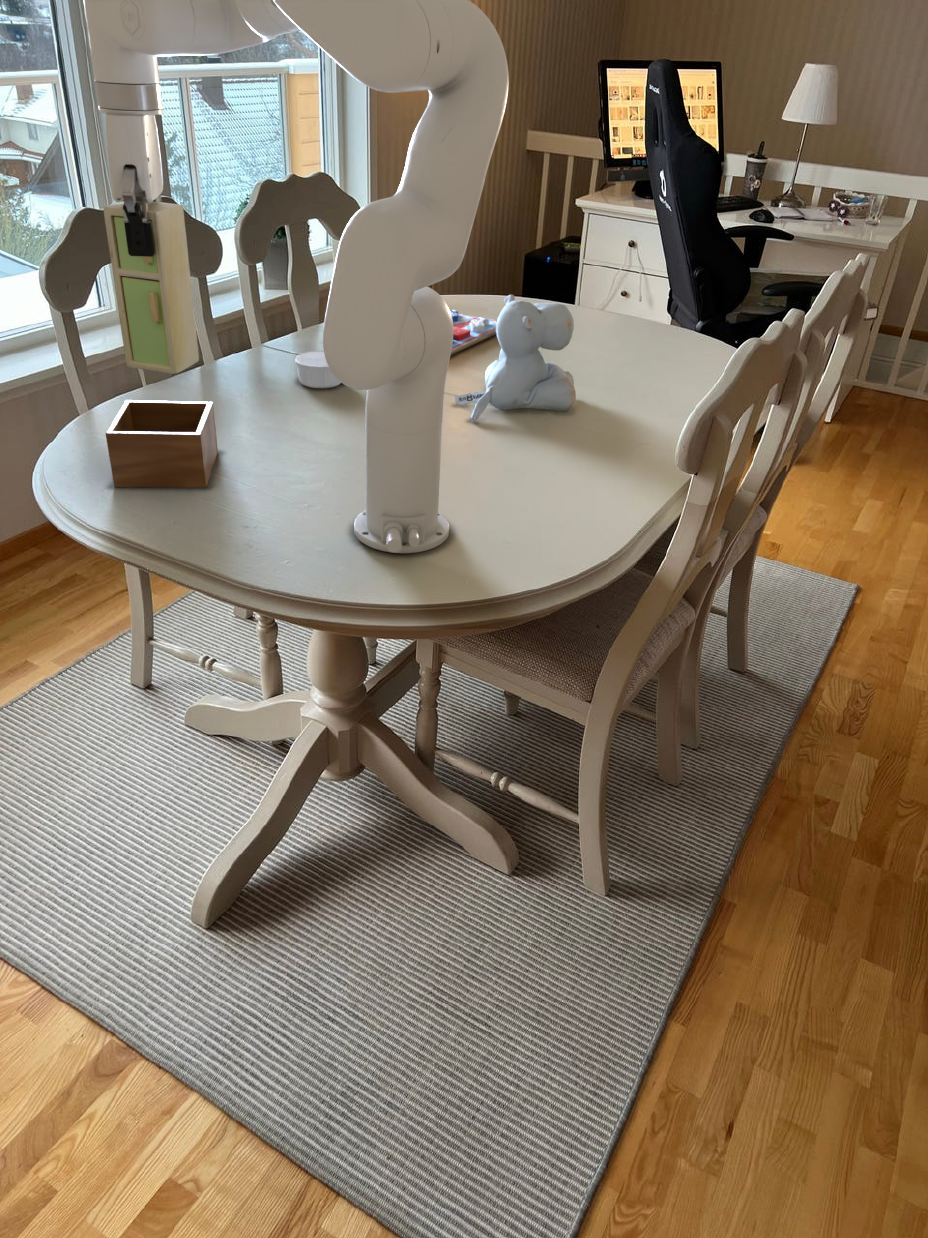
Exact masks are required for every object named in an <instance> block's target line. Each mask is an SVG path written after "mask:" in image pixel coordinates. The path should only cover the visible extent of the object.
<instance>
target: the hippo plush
mask: <svg viewBox="0 0 928 1238" xmlns="http://www.w3.org/2000/svg"><path fill="white" fill-rule="evenodd" d="M504 304H505V306H503V308H502V309H501V311H500V313H499V315H498V317H497V320H496V321H497V323H496V334H495V335H496V338H497V341H498V344H499V346H500V351H499V357H498V359H496V360H494V361H493V362H491V363H490V364H489V365H488V366H487V368H486V369H485V372H484V383H485V391H475V392H469V393H465V394H461V395H460V394H459V395H457V394H454V400H455V406H464V405H470V404H474V403H475V405H474V408H473V410H472V412H471V415H470V417H469V420H470V421H471V422H476V421H477V420H478V419H479V417H481V415H482V414H483V412H484V411H485V410H486V408H487V407H488V405H489V404H490V405H491V406H492V407H494V408H495V409H499V410H502V411H509V410H516V409H535V410H548V411H553V412H564V413H565V412H570V411H571V410H572V409H573V407H574V405H575V404H576V400H577V391H576V388H575V379H574V376H573V374H572V373H571V372H569V371H567V370H564V369H563V368H562V367H560V366H559V365H558V364H555V363H553V362H550V361H549V362H548V361H545V359H544V357H543V354H542V353H541V352H540V350H539V349H540V348H542V349H545V350H550V351H562V350H564V349H565V348H566V347H568V345H570V342H571V340H572V338H573V333H574V329H575V321H574V317H573V314H572V312H571V310H569V308H568V306H567V305H565V304H562V303H558V302H537V303H532V302H529V301H525V300H516V297H515V295H514V294H509V295H507V296H506V297H505V298H504Z"/></svg>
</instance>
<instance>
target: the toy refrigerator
mask: <svg viewBox="0 0 928 1238" xmlns="http://www.w3.org/2000/svg"><path fill="white" fill-rule="evenodd" d="M123 205H124V200H122V201H121V202H114V203H111V204H107V205H105V206H103V215H104V225H105V229H106V236H107V244H108V250H109V256H110V262H111V263H110V264H111V269H112V276H113V285H114V290H115V296H116V304H117V311H118V318H119V324H120V332H121V336H122V337H121V338H122V344H123V351H124V359H125V364H126V367H127V368H132V369H139V370H146V371H151V372H158V373H165V374H171V375H177V374H179V373H181V372H183V371H185V370H186V369H188V368H190V367H192V366H193V365H195V364H197V363H198V362H199V361H200V355H199V345H198V334H197V326H196V318H195V317H196V316H195V307H194V298H193V297H194V295H193V289H192V280H191V279H192V277H191V270H190V259H189V249H188V248H189V247H188V240H187V231H186V221H185V211H184V206H183V205H182V204H177V203H171V202H163V201H162V202H153V201H152V202H151V203H148V223H151V226H152V234H153V242H154V250H155V254H154V256H152V257H145V256H130V255H129V254H128V247H127V240H126V233H125V225H124V210H123ZM140 206H141V211H142V205H140Z"/></svg>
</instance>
